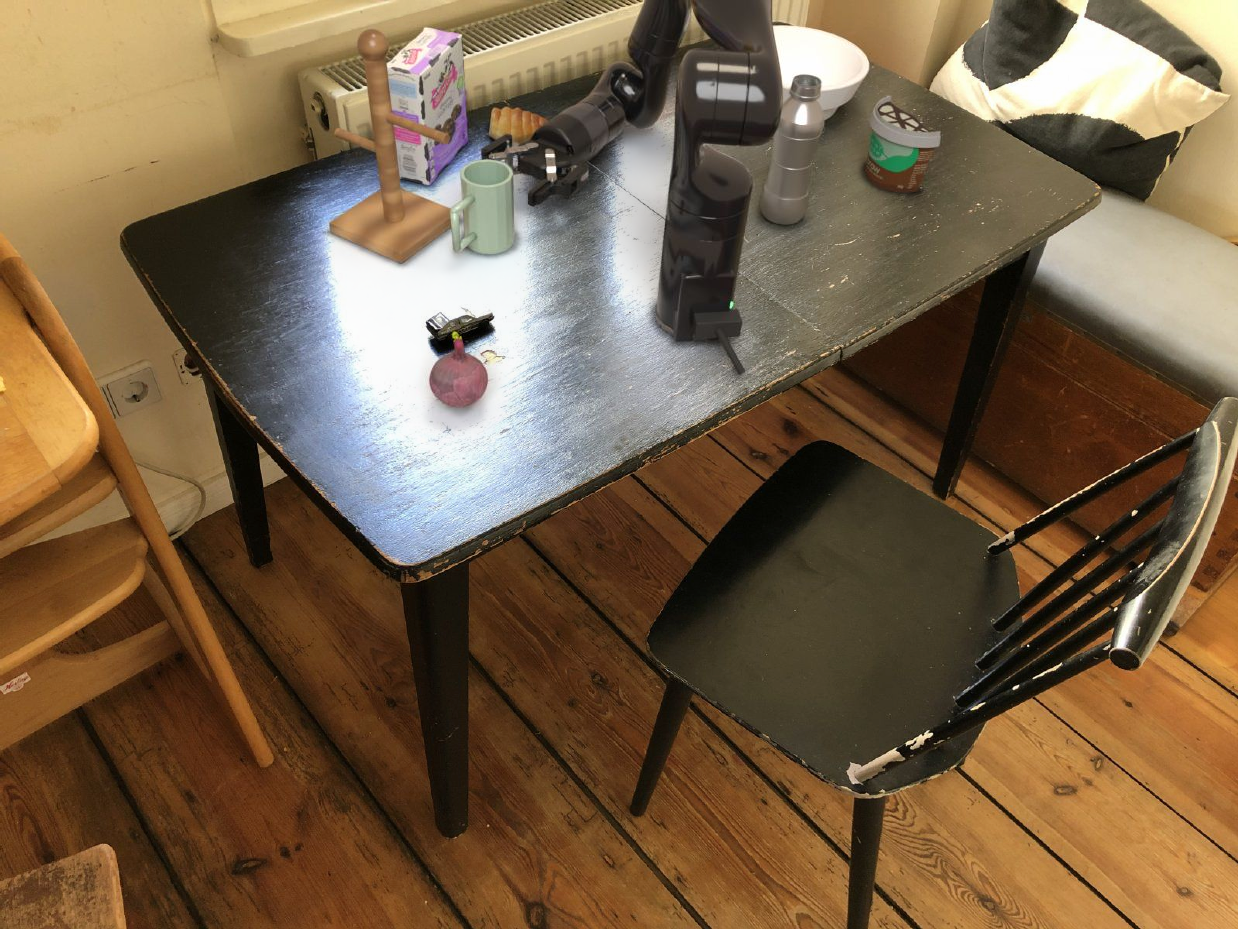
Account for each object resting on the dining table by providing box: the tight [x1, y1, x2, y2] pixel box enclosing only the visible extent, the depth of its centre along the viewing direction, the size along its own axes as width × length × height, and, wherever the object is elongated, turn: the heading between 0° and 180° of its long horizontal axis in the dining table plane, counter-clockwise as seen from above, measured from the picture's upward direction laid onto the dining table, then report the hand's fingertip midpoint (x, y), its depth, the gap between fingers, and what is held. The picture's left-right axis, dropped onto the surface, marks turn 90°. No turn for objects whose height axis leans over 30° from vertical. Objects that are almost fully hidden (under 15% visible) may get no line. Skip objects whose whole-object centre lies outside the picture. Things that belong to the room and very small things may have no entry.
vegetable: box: [428, 331, 489, 408], centre depth 108 cm, size 6×6×10 cm
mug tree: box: [328, 28, 460, 264], centre depth 124 cm, size 18×12×26 cm, turn 59°
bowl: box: [773, 24, 870, 121], centre depth 161 cm, size 22×22×8 cm
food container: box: [864, 95, 942, 193], centre depth 146 cm, size 12×6×10 cm, turn 27°
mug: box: [450, 159, 516, 255], centre depth 128 cm, size 11×6×10 cm, turn 149°
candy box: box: [386, 26, 470, 186], centre depth 140 cm, size 14×6×16 cm, turn 162°
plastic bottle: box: [759, 74, 825, 226], centre depth 134 cm, size 6×7×20 cm
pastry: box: [488, 106, 549, 144], centre depth 151 cm, size 9×7×4 cm
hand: (503, 189), depth 131 cm, fingers open, 8 cm apart
